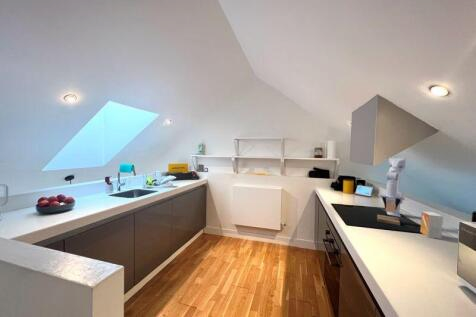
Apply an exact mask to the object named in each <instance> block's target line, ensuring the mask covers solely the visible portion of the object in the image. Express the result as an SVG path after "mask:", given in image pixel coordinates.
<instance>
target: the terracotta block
mask: <svg viewBox="0 0 476 317" xmlns="http://www.w3.org/2000/svg"><path fill="white" fill-rule="evenodd" d="M395 208H396V204H395V203H394V202H387V201H386V208H385V212H386V213H387V212H393V213H395Z"/></svg>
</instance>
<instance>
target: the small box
mask: <svg viewBox="0 0 476 317" xmlns="http://www.w3.org/2000/svg"><path fill="white" fill-rule="evenodd" d="M443 220H444V216H443V215H440V214H439V213H437V212H434V211H425V210H424V211H423V210H422V211H421V219H420V233H421V234H422V235H424V236H426V237H427V238H431V239H439V240H441V239H442V236H443V234H442V233H443Z"/></svg>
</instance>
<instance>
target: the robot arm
mask: <svg viewBox="0 0 476 317" xmlns="http://www.w3.org/2000/svg"><path fill="white" fill-rule="evenodd" d="M406 161H407V160H406V158H404V157H400V158H399V157H390V158H389V159H388V166H389V170H388V172H386V175H385V179H386V190H385V191H386V192H385V193H386V194H380V193H378V198H381V199H382V201H383V204H384V209H386V202H394V203H395V204H396V208H395V213H393V212H387V211H386V214H387V216H392V217H398V218H401V213H400V212H401V211H400V210H401V205H402V204H403V201H405V199H406V198H405V196H404V195H403V193H402V192H401V191H400V179H401V173H402V171H403V170H405V169H406V164H407V163H406Z"/></svg>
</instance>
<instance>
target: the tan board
mask: <svg viewBox="0 0 476 317" xmlns="http://www.w3.org/2000/svg"><path fill="white" fill-rule="evenodd" d="M376 215H377V216H376V219H377V222H379V223H384V224H389V225H394V224H395V226H401V222H400V219H399V217H397V216H391V215H383V214H376Z"/></svg>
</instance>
